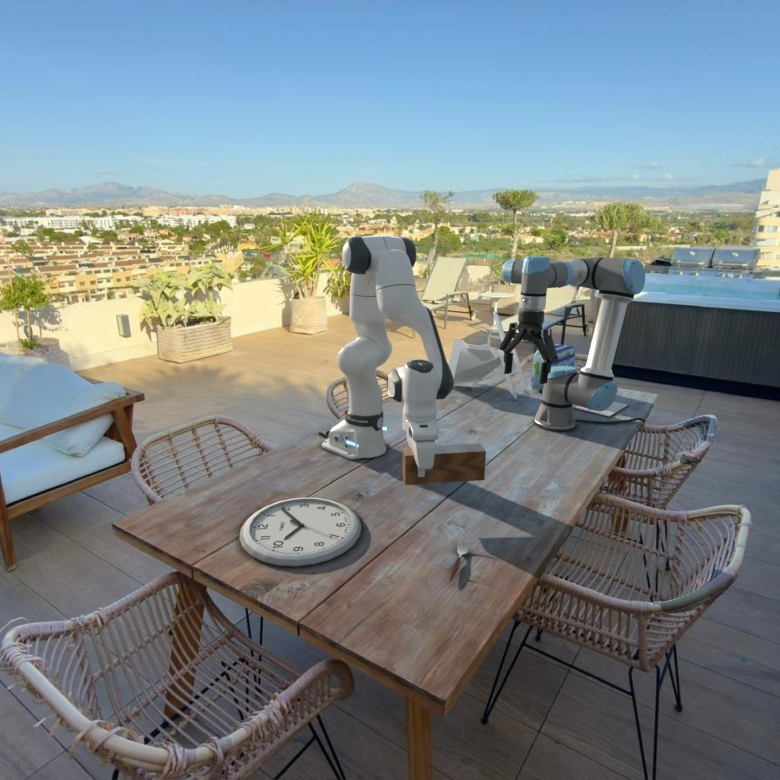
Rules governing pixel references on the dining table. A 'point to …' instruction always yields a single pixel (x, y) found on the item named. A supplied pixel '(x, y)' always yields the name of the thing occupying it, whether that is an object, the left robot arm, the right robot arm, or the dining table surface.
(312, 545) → the wall clock
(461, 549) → the fork
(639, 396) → the dining table surface
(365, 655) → the dining table surface
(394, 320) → the left robot arm
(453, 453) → the bar
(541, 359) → the lunch box
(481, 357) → the white plastic object
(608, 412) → the invitation card
